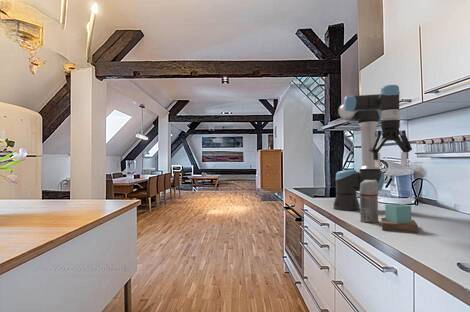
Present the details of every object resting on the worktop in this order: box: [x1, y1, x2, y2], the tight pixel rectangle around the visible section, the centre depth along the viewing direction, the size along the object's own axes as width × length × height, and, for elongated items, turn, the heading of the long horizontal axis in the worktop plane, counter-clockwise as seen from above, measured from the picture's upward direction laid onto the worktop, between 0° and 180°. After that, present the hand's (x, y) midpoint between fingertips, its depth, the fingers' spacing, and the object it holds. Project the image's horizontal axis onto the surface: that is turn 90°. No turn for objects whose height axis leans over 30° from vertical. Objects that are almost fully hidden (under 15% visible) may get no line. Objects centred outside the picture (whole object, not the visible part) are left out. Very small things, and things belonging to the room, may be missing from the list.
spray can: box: [359, 180, 379, 224], centre depth 150 cm, size 8×8×20 cm
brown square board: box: [380, 205, 419, 234], centre depth 135 cm, size 13×13×10 cm
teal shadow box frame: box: [384, 203, 412, 223], centre depth 135 cm, size 7×7×7 cm
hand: (390, 166), depth 142 cm, fingers open, 13 cm apart
